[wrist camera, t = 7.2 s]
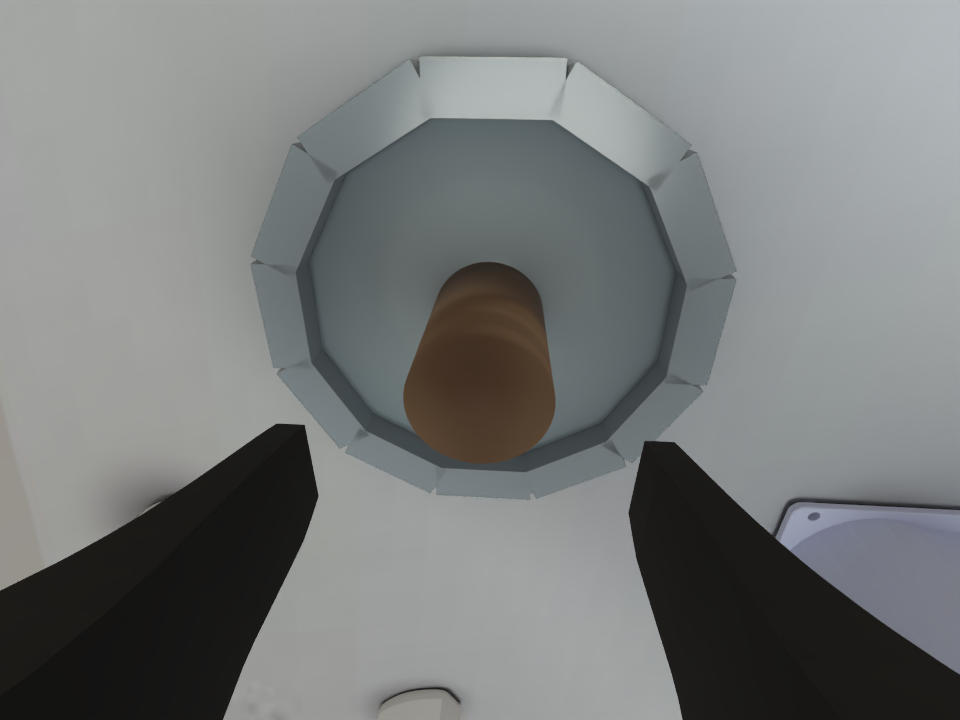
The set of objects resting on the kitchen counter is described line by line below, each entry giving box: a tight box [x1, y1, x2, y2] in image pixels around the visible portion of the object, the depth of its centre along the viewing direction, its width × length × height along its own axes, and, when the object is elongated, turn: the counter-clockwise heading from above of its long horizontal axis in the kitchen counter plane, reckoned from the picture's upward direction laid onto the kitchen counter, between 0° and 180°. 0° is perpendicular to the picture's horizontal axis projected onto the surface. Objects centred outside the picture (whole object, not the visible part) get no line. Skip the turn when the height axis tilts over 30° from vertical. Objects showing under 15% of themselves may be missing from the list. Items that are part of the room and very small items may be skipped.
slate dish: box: [251, 56, 736, 500], centre depth 18 cm, size 16×16×2 cm
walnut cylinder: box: [403, 262, 556, 464], centre depth 15 cm, size 4×4×6 cm
